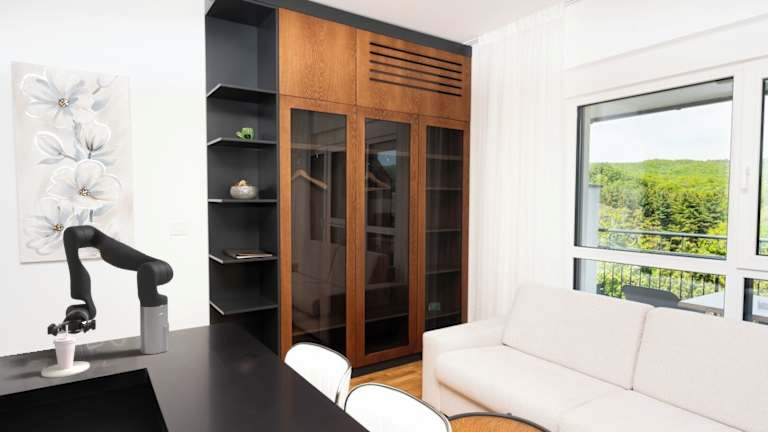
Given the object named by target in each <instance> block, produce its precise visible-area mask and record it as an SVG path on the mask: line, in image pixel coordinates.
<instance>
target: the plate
mask: <svg viewBox="0 0 768 432" xmlns="http://www.w3.org/2000/svg"><path fill="white" fill-rule="evenodd" d="M90 366H91V365H90V362H88V361H77V360H74V361H73V366H72V368H70V369H66V370H59V368H58V363H55V364H54V365H50V366H48V367H46V368H44V369H42V370H41V371H40V373H41V374H40V375H41V377H43V378H49V379H51V378H52V379H53V378H54V379H55V378H56V379H58V378H63V377H70V376H74V375H77V374H81V373H84V372H85V371H88V370H89V369H90Z"/></svg>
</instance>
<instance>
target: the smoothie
mask: <svg viewBox="0 0 768 432" xmlns="http://www.w3.org/2000/svg"><path fill="white" fill-rule="evenodd" d="M77 341H78V339H77V336H76V335H69V333H68V325H66V333H65V336H61V337H57V338H54V339H53V342H52V343H53V344H54V349H55V354H56V361H57V364H58V368H59V370H66V369H70V368H72V366H73V362H74V358H75V349H76V342H77Z"/></svg>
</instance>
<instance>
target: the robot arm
mask: <svg viewBox="0 0 768 432" xmlns="http://www.w3.org/2000/svg"><path fill="white" fill-rule="evenodd" d="M62 234H63V235H62V242H63V248H64V252H65V258H66V263H67V267H68V271H69V280H70V281H69V282H70V283H69V284H70V285H69V287H70V288H69V290H70V298H71V299H72V300H76V301H82V302H84V303H78V304H77V303H76V304H70V305H69V306H67V307H66V309H65V318H64V319H63V321H62V322H60V323H58V325H56V323H51V324H49V325H48V326H47V327H46V328H47V335H51V336H53V337H57V336H58V335H59V334H61V335H62V334H66V325H68V335H76V334H79V333H81V332H82V333H83V334H86V333H87V332H89V331H90V330H92V331H95V330H96V329H97V328H96V327H97V320H96V319H95V318H96V316H97V312H98V311H97V308H96V305H95V302H94V300H93V295H92V279H91V276H90V273H89V271H88V270H87V268H86V267H85V266H84V264H83V262H82V261H81V259H80V254H79V249H87V248H93V249H96V250H99V256H100V258H101V260H103V261H104V262H105V263H107V264H109V265H111V266H112V267H114V268H118V269H120V270H121V269H122V270H125V271H133V272H136V289H137V297H138V300H139V320H140V321H139V323H140V324H139V325H140V327H139V328H140V329H139V330H140V331H139V333H140V334H139V336H140V337H139V339H140V341H139V342H140V349H139V350H140V353H141V354H143V355H153V354H154V355H155V354H159V353H166V352H168V350H169V348H170V323H169V318H168V317H169V304H168V303H169V302H168V296H167V295H165V294H161V293H159V291H158V287H159V286H164V285H166V284H169V283H170V282H171V281H172V280H173V278H174V269H173V267H172V266H171V265H170V264H169V263H168V262H167V261H165V260H162V259H158V258H156V257H153V256H150V255H148V254H145V253H143V252H142V251H139V250H137V249H135V248H133V247H131V246H130V245H129V244H126V243H123V242H121V241H119V240H117V239H115V238H113V237H111V236H109V235H107V234H106V233H104V232H102V231H101V230H100V229H98V227H95V226H93V225H90V224H84V225H83V224H81V225H73V226H67V227H66V228H65V229H64V230H63V233H62Z"/></svg>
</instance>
